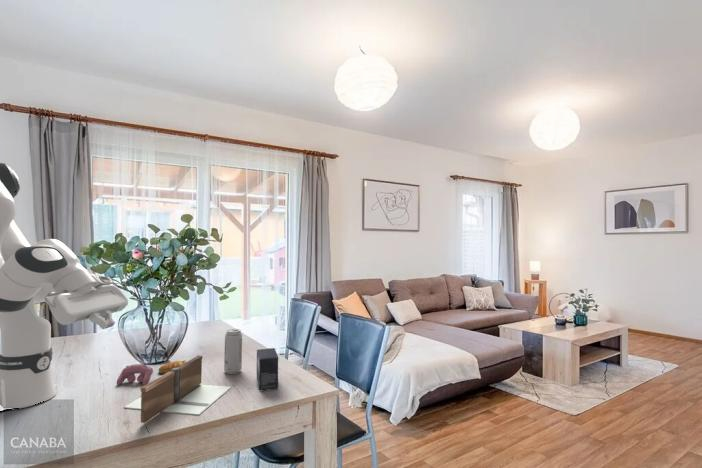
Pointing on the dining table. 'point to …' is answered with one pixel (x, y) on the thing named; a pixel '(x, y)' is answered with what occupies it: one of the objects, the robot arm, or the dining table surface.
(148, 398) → the fence panel
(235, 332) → the energy drink can
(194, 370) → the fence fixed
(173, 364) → the pastry
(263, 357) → the small box
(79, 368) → the dining table surface
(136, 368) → the video game controller
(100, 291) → the robot arm
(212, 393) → the card
